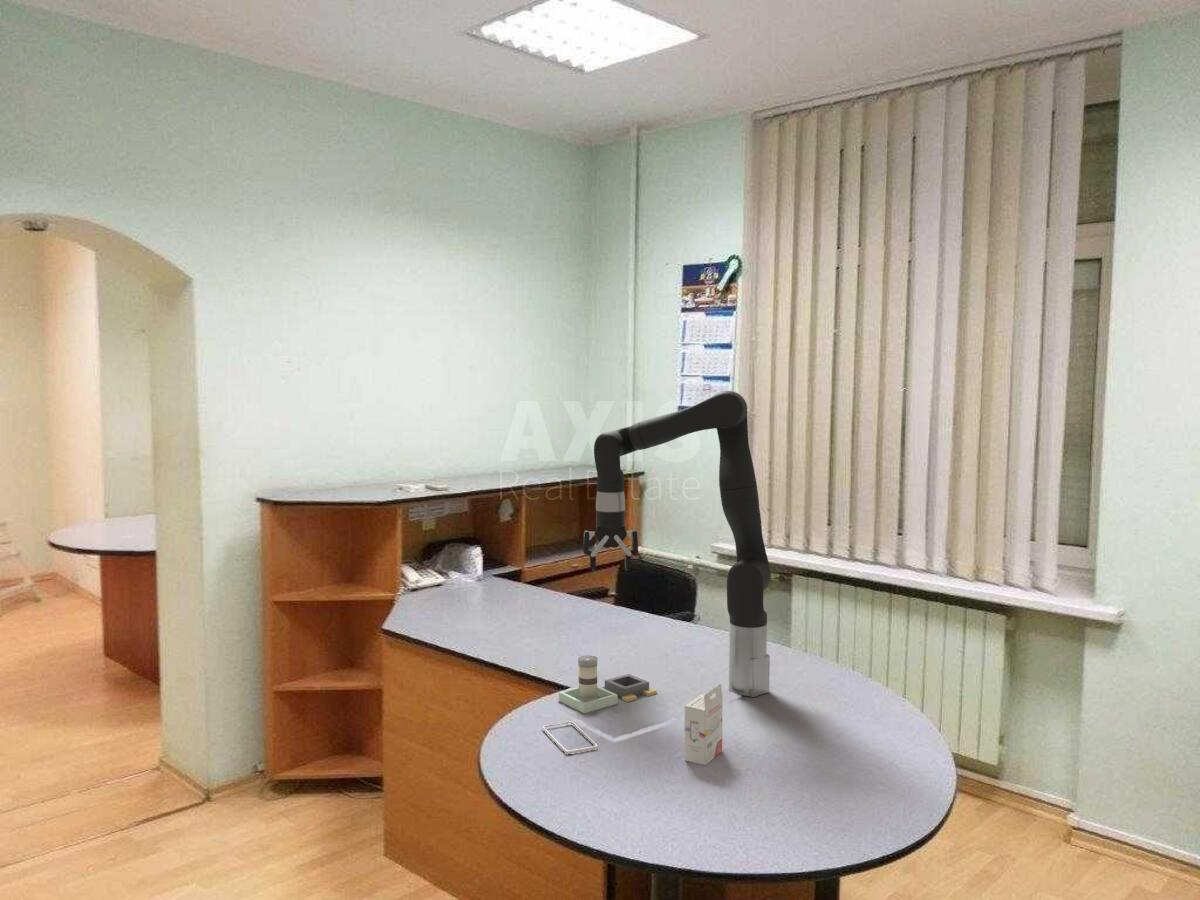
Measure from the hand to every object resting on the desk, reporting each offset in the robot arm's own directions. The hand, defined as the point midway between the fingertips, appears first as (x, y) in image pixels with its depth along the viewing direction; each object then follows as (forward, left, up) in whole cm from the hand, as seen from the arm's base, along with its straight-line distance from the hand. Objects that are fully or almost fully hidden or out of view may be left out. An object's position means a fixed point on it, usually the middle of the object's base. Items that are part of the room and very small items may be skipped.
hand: (610, 570), depth 233 cm
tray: (-14, +18, -28) cm, 36 cm away
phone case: (-27, +33, -29) cm, 51 cm away
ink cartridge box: (-51, +16, -28) cm, 61 cm away
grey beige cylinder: (-14, +18, -28) cm, 36 cm away
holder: (-14, +6, -28) cm, 32 cm away
